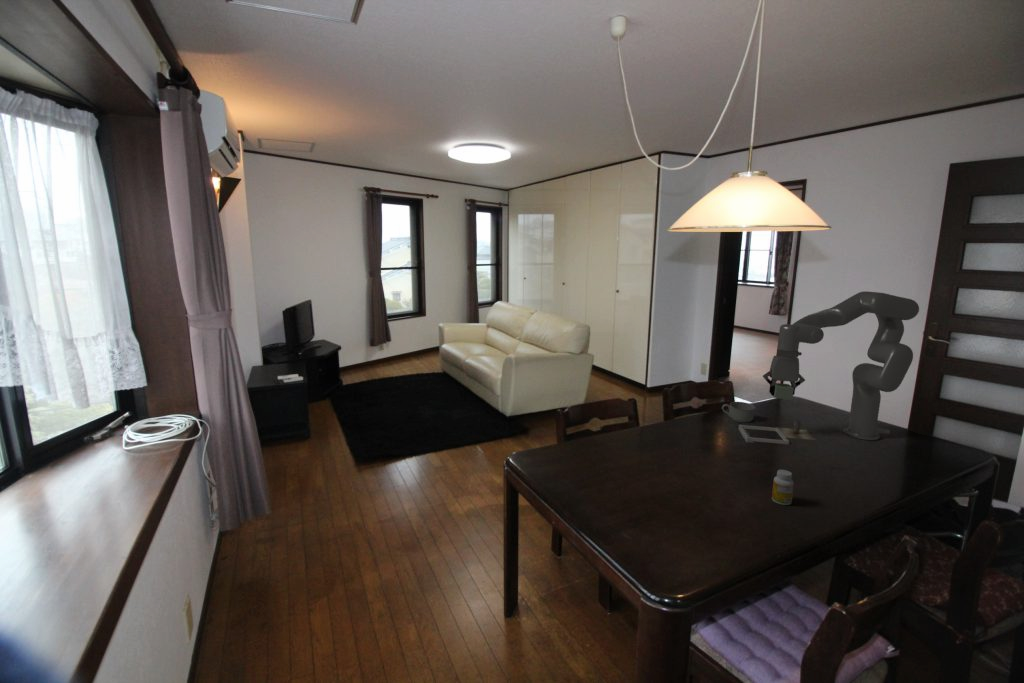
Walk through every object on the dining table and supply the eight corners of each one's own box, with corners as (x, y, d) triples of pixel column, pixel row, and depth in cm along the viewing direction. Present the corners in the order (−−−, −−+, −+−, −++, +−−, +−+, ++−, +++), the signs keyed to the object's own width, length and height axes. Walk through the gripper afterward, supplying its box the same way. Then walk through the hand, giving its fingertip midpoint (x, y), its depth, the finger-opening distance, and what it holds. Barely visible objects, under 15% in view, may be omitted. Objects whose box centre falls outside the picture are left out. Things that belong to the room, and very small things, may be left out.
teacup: (754, 420, 215) (756, 403, 213) (752, 427, 206) (754, 410, 204) (722, 414, 222) (724, 399, 221) (719, 421, 213) (720, 405, 212)
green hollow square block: (787, 395, 193) (788, 384, 193) (792, 399, 187) (793, 388, 186) (770, 393, 195) (772, 382, 194) (774, 397, 189) (776, 386, 188)
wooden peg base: (806, 432, 200) (808, 418, 198) (816, 442, 188) (818, 427, 187) (776, 429, 203) (777, 415, 202) (784, 439, 191) (786, 424, 190)
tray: (777, 432, 199) (777, 427, 198) (788, 446, 184) (789, 441, 184) (738, 429, 203) (739, 424, 202) (746, 442, 188) (747, 437, 188)
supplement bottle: (773, 494, 146) (776, 466, 144) (792, 500, 143) (796, 471, 141) (770, 501, 142) (773, 472, 140) (789, 507, 139) (793, 478, 137)
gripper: (807, 354, 189) (801, 395, 192) (761, 350, 194) (756, 391, 197) (813, 357, 182) (807, 400, 185) (766, 354, 187) (761, 395, 190)
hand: (781, 395), depth 191 cm, fingers closed on green hollow square block, 6 cm apart
